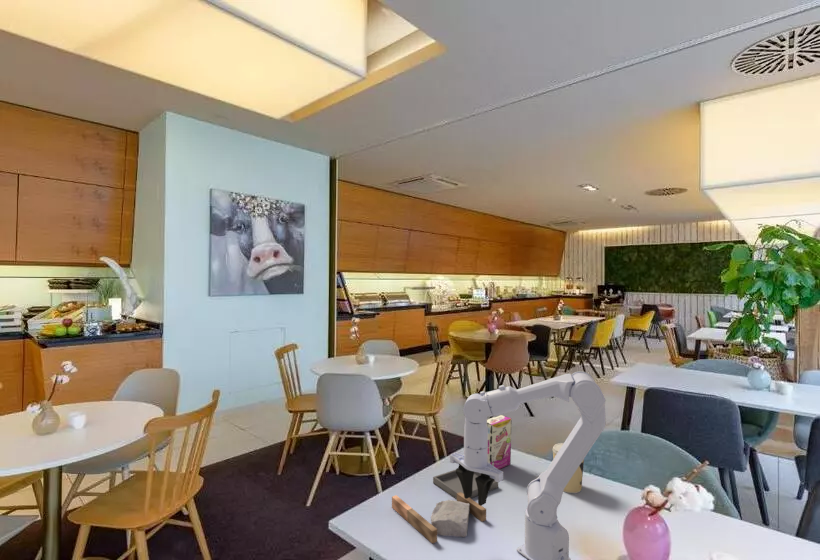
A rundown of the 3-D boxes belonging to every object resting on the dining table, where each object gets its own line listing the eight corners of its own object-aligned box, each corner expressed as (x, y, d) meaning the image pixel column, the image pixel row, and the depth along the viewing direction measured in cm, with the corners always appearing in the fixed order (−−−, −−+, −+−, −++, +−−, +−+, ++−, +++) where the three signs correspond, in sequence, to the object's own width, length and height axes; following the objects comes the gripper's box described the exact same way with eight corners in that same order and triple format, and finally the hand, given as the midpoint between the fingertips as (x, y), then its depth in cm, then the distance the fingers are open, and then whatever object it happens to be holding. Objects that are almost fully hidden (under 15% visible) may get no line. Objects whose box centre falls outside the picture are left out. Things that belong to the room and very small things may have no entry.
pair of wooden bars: (486, 520, 110) (486, 508, 110) (432, 543, 100) (432, 531, 100) (442, 489, 126) (442, 479, 126) (391, 507, 116) (391, 496, 116)
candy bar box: (491, 474, 136) (491, 424, 136) (479, 469, 140) (479, 420, 140) (511, 464, 143) (512, 417, 143) (500, 459, 147) (500, 414, 147)
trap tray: (498, 487, 127) (498, 481, 127) (460, 502, 119) (460, 495, 119) (469, 471, 138) (469, 465, 138) (433, 483, 130) (433, 476, 130)
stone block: (430, 542, 104) (470, 539, 102) (427, 522, 105) (466, 519, 103) (436, 517, 116) (472, 514, 114) (433, 499, 116) (468, 496, 114)
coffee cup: (587, 496, 123) (588, 455, 123) (555, 493, 125) (555, 453, 125) (580, 480, 132) (580, 443, 132) (549, 478, 134) (550, 441, 134)
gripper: (510, 449, 98) (509, 506, 98) (462, 432, 109) (461, 483, 109) (493, 458, 93) (493, 517, 94) (445, 439, 104) (444, 493, 104)
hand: (475, 500), depth 101 cm, fingers open, 4 cm apart
